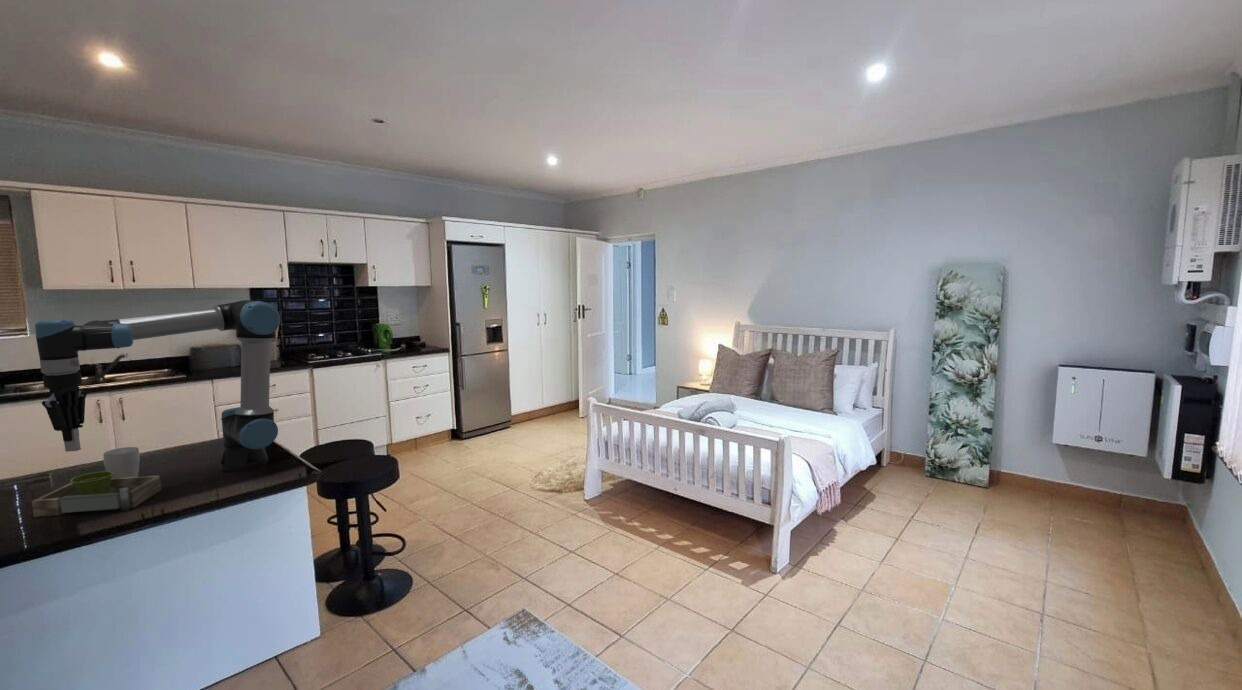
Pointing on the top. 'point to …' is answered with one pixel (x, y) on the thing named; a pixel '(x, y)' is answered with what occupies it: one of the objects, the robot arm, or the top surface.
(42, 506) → the pen walls
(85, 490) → the plant pot
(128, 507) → the hinge post
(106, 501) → the gate
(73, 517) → the top surface
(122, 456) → the cup
